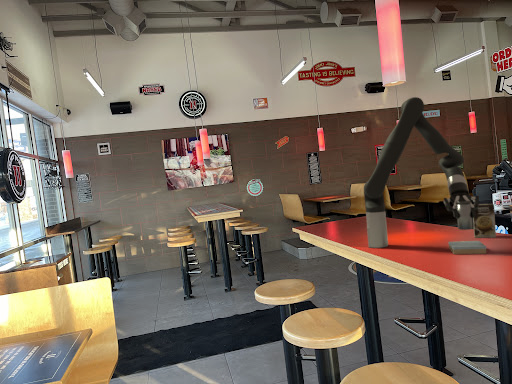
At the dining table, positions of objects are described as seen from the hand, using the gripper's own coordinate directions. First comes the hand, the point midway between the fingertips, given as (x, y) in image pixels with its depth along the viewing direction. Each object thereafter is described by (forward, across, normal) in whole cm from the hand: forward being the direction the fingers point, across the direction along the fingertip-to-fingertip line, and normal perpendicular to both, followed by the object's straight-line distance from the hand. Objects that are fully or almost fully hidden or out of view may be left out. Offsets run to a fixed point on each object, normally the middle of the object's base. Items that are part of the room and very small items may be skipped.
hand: (465, 216), depth 158 cm
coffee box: (-13, +14, +35) cm, 40 cm away
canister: (+2, 0, +5) cm, 6 cm away
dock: (+9, 0, +12) cm, 15 cm away
